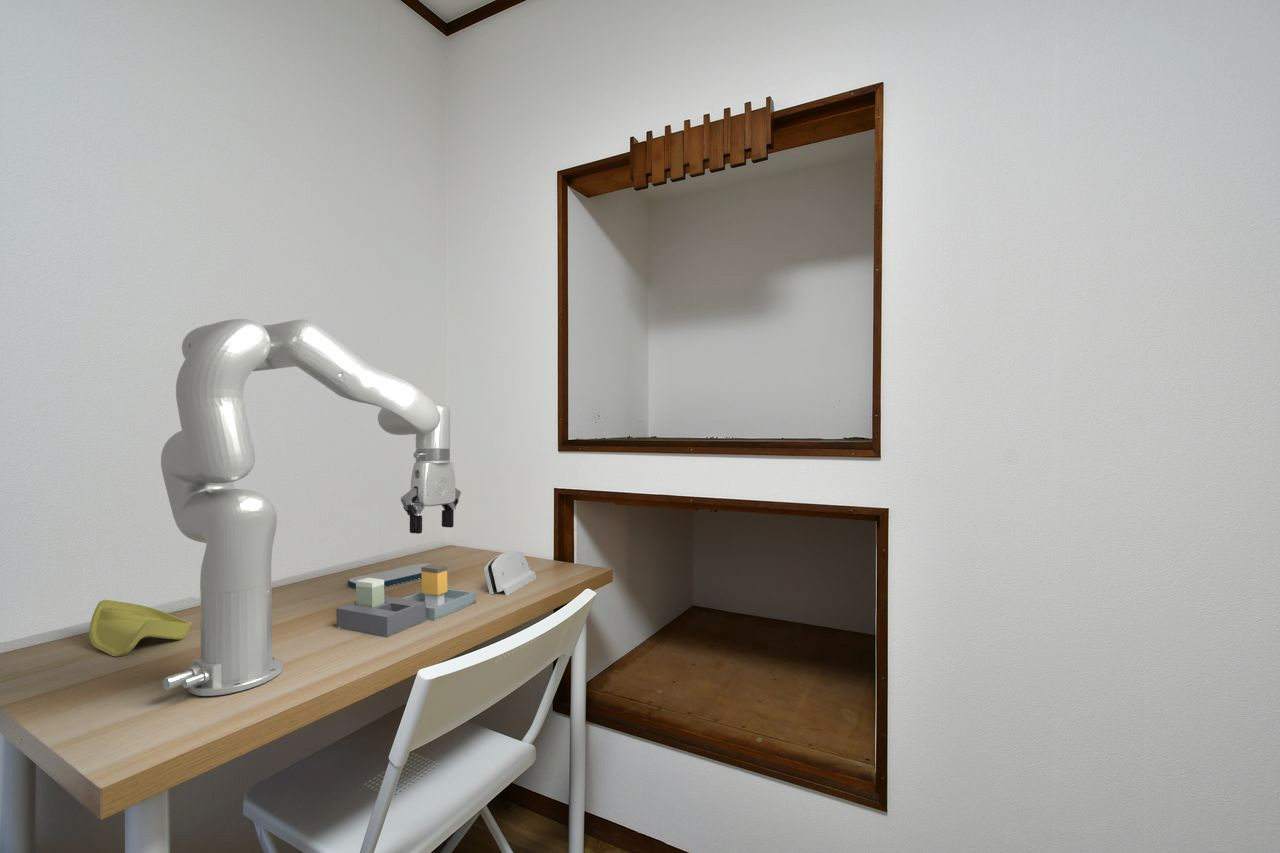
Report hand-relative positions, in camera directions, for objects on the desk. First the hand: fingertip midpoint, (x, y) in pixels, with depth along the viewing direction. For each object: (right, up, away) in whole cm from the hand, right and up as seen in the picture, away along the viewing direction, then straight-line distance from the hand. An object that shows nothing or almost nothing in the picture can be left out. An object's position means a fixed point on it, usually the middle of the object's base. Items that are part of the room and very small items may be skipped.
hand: (432, 529), depth 125 cm
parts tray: (0, -18, 0) cm, 18 cm away
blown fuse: (0, -18, 0) cm, 18 cm away
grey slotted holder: (+14, -19, +18) cm, 29 cm away
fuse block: (-7, -18, -10) cm, 22 cm away
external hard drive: (-21, -20, +27) cm, 39 cm away
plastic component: (-53, -19, -16) cm, 59 cm away
